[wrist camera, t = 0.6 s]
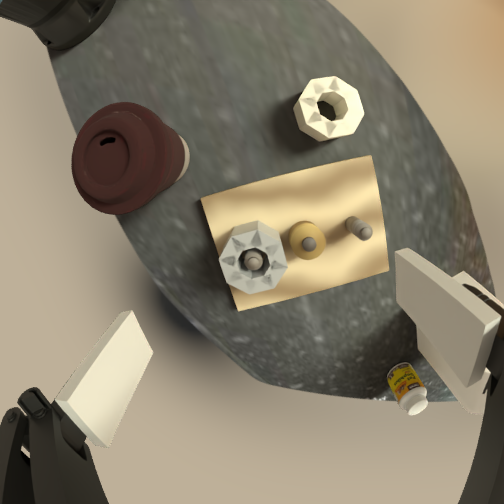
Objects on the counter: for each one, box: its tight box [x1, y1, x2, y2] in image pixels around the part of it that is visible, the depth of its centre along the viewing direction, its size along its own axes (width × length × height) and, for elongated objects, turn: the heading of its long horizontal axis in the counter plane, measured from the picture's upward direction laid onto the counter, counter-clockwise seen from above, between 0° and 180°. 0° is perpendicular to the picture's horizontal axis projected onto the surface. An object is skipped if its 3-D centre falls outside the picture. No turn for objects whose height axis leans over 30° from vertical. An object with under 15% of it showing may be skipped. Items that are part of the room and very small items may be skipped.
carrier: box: [201, 156, 389, 311], centre depth 32 cm, size 16×22×7 cm
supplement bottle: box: [387, 362, 428, 415], centre depth 38 cm, size 6×6×10 cm
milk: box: [416, 271, 504, 414], centre depth 27 cm, size 12×12×26 cm
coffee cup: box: [72, 102, 189, 215], centre depth 25 cm, size 10×10×15 cm
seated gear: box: [219, 220, 288, 294], centre depth 32 cm, size 7×7×5 cm
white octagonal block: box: [293, 76, 364, 142], centre depth 28 cm, size 7×7×5 cm
